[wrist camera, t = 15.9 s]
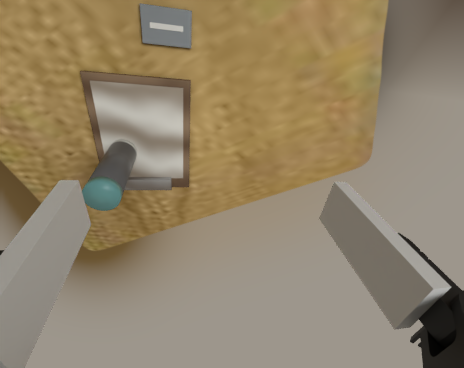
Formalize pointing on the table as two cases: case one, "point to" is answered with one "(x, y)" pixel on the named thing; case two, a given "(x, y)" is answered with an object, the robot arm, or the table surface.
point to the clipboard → (143, 124)
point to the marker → (110, 176)
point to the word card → (166, 26)
